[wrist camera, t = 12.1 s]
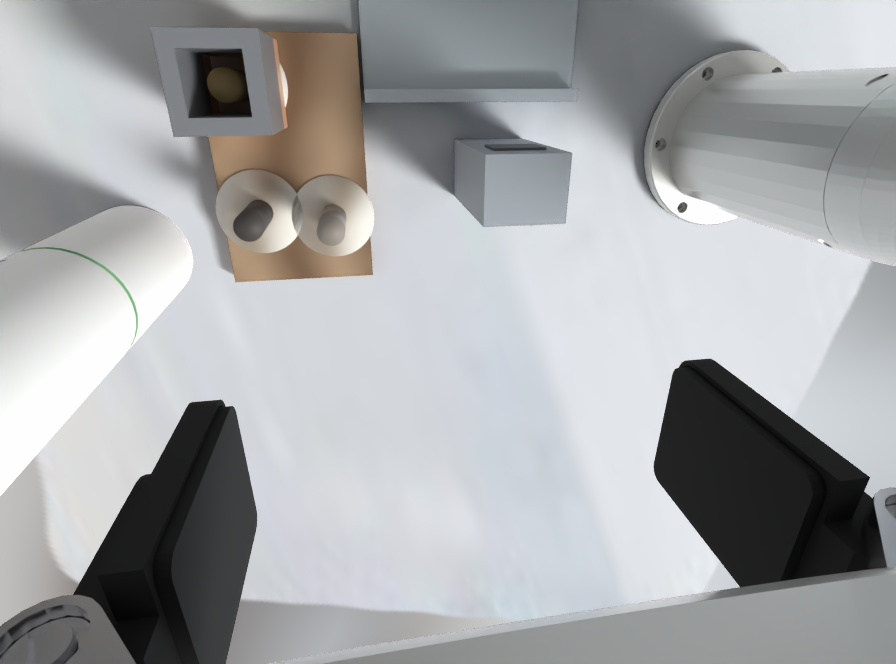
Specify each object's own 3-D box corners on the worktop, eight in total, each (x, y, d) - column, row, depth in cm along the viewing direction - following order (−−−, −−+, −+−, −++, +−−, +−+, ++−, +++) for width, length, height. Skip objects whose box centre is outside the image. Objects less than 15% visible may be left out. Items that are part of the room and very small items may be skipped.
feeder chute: (578, -32, 34) (590, -39, 32) (566, 101, 37) (577, 101, 36) (355, -40, 32) (355, -47, 30) (364, 102, 35) (365, 102, 34)
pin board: (362, 35, 34) (363, 24, 29) (377, 269, 40) (380, 295, 35) (187, 32, 32) (155, 21, 27) (233, 277, 39) (214, 305, 34)
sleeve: (276, 40, 32) (257, 28, 26) (287, 127, 34) (272, 135, 28) (191, 39, 31) (150, 26, 25) (207, 128, 33) (173, 136, 27)
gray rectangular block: (521, 136, 38) (572, 150, 29) (518, 193, 40) (565, 223, 31) (454, 137, 37) (485, 151, 28) (454, 195, 39) (483, 226, 30)
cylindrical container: (59, 233, 36) (-435, 471, 13) (150, 187, 35) (-202, 351, 13) (130, 317, 39) (-175, 622, 17) (213, 275, 39) (17, 528, 16)
